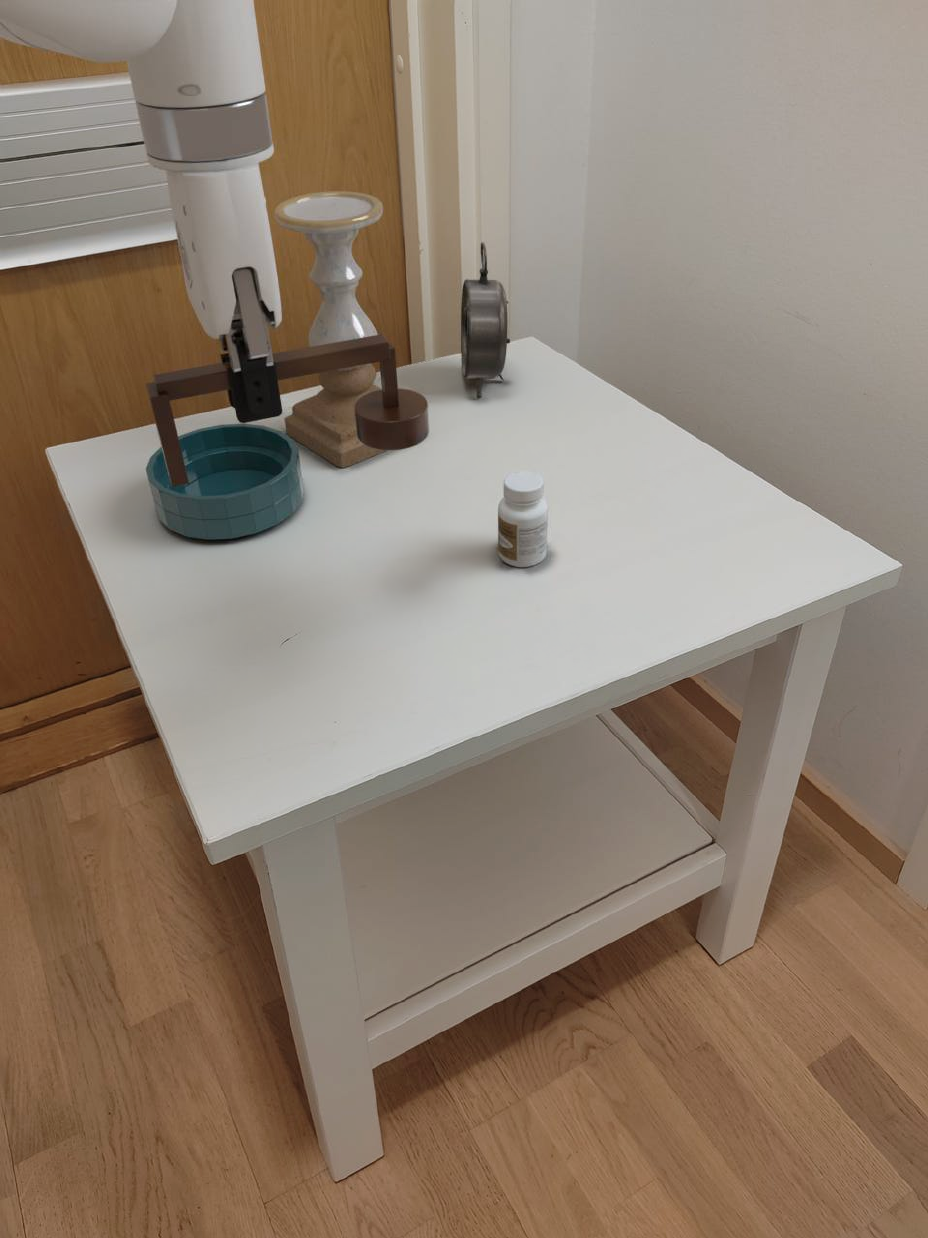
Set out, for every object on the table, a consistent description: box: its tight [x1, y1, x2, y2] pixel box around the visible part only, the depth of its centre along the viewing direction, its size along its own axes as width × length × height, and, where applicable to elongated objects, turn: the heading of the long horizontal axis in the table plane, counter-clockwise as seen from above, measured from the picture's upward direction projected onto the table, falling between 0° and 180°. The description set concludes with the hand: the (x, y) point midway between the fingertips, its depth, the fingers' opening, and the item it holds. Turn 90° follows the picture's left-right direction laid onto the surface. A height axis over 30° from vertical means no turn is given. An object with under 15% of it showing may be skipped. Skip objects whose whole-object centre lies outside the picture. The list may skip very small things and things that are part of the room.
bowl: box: [145, 423, 305, 541], centre depth 93 cm, size 14×14×5 cm
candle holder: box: [274, 190, 387, 469], centre depth 97 cm, size 11×11×24 cm
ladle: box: [145, 333, 430, 487], centre depth 70 cm, size 20×6×8 cm, turn 112°
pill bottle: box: [497, 470, 549, 568], centre depth 84 cm, size 4×4×8 cm
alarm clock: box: [460, 241, 511, 399], centre depth 109 cm, size 11×5×16 cm, turn 3°
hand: (256, 409), depth 69 cm, fingers closed on ladle
